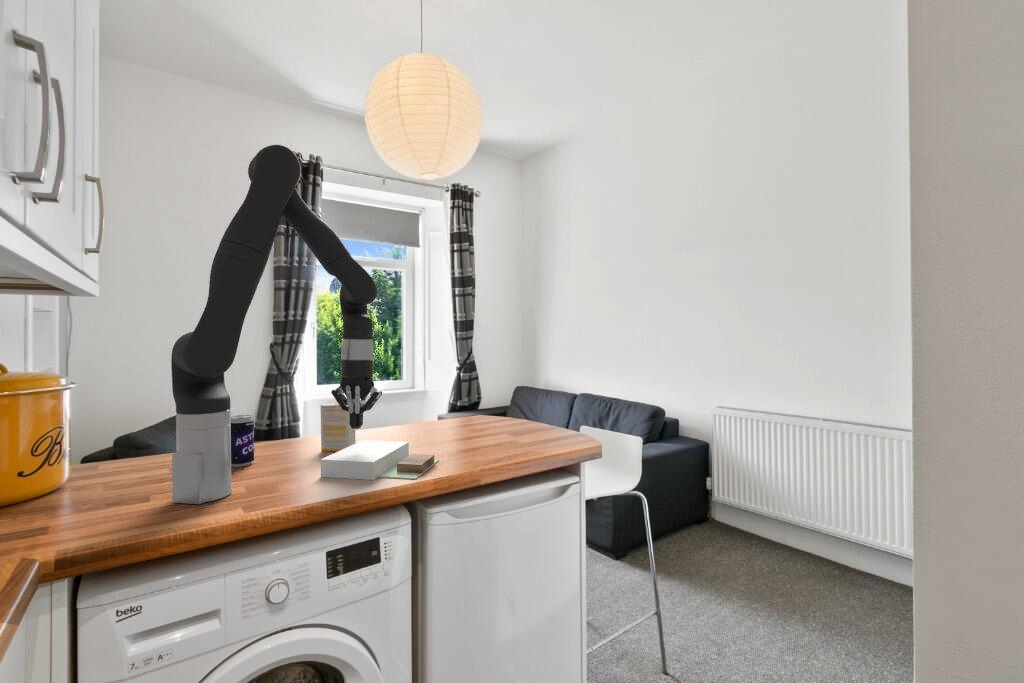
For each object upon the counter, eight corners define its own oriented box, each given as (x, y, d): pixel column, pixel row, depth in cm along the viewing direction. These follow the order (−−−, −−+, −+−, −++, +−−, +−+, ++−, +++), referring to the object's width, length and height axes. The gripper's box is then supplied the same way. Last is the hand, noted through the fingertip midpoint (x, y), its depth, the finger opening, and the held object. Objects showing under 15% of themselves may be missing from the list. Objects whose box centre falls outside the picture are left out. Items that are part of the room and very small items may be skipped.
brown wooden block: (396, 463, 112) (397, 472, 113) (421, 464, 111) (421, 473, 112) (411, 454, 121) (411, 461, 121) (434, 455, 120) (434, 463, 120)
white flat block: (373, 480, 108) (373, 462, 107) (320, 476, 110) (320, 459, 110) (408, 457, 127) (408, 442, 127) (363, 454, 130) (363, 440, 129)
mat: (415, 479, 108) (415, 478, 108) (377, 477, 109) (377, 476, 109) (438, 460, 124) (438, 459, 124) (405, 459, 125) (405, 457, 125)
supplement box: (356, 448, 137) (356, 402, 137) (349, 452, 132) (348, 404, 132) (328, 447, 138) (328, 402, 138) (320, 451, 133) (319, 404, 133)
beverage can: (234, 468, 116) (233, 419, 116) (224, 465, 120) (223, 417, 120) (258, 463, 121) (257, 416, 121) (247, 460, 124) (247, 413, 124)
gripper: (324, 357, 116) (323, 429, 116) (375, 359, 113) (373, 432, 113) (341, 356, 123) (339, 424, 123) (389, 358, 121) (388, 427, 121)
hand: (356, 428), depth 118 cm, fingers closed
